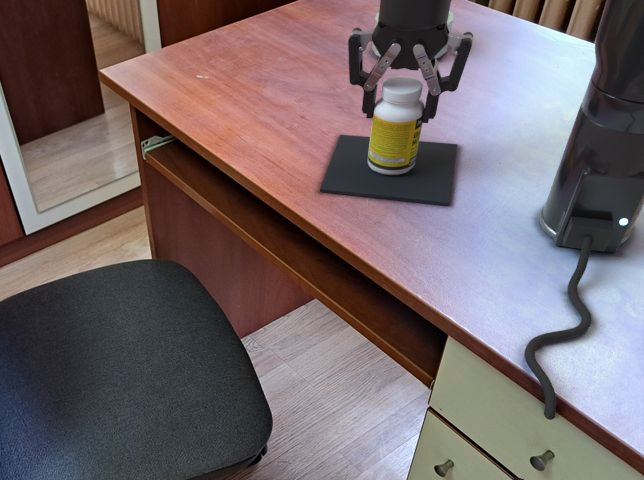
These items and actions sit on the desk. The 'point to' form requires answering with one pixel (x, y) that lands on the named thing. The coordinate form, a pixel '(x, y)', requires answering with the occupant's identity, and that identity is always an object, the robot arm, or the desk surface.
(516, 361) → the desk surface
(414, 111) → the pill bottle
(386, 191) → the mat
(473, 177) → the desk surface
